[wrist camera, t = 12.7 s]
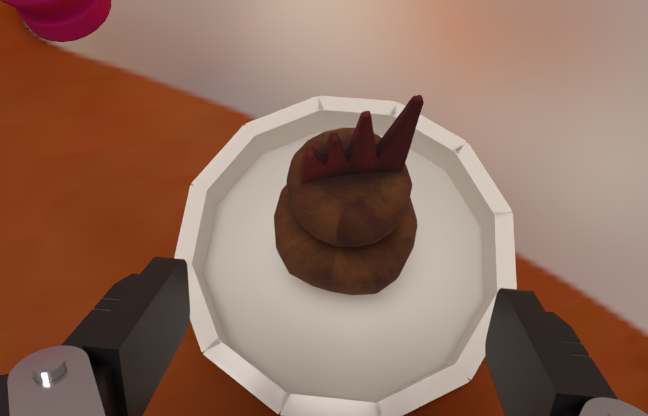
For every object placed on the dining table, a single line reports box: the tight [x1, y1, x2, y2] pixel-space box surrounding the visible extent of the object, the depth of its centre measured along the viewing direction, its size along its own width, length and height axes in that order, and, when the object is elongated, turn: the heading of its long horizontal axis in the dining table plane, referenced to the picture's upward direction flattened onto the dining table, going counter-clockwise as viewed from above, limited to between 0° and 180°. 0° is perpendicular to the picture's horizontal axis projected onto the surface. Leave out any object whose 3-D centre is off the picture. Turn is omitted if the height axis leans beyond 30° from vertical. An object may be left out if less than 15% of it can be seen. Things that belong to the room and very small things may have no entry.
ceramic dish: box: [174, 96, 517, 416], centre depth 27 cm, size 18×18×3 cm
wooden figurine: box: [274, 95, 423, 295], centre depth 21 cm, size 7×6×15 cm
